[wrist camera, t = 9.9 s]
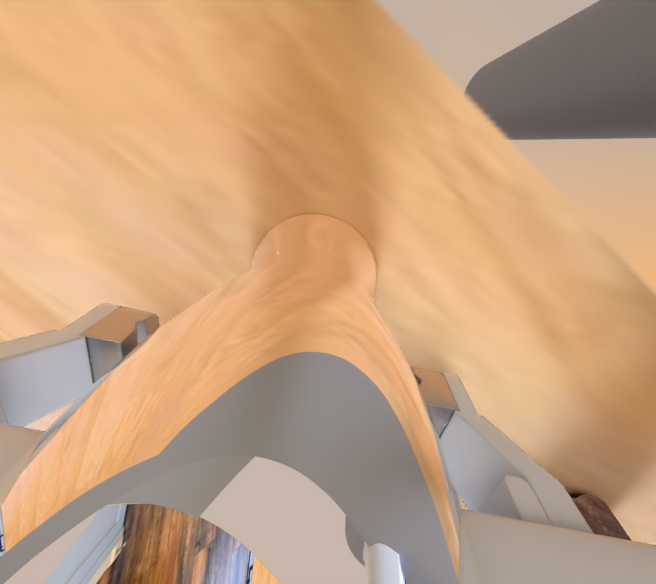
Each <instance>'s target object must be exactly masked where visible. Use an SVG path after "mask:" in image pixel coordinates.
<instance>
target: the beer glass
mask: <svg viewBox="0 0 656 584" xmlns="http://www.w3.org/2000/svg"><path fill="white" fill-rule="evenodd" d="M376 281H377V270H376V263H375V259H374V256H373V253H372V251H371V249H370V247H369V245H368V244H367V242H366V241H365V239H364V238H363V237H362V236H361V235H360V234H359V233H358V232H357V231H356V230H355V229H354V228H352V227H351V226H350V225H348V224H346V223H345V222H343V221H341V220H338V219H336V218H333V217H330V216H326V215H319V214H306V215H299V216H295V217H292V218H289V219H286V220H284V221H282V222H281V223H279V224H278V225H276V226H275V227H274V228H272V229H271V230H270V231H269V232H268V233H267V234H266V235H265V237H264V238H263V239H262V241H261V242H260V244H259V245H258V247H257V249H256V252H255V254H254V257H253V261H252V264H251V268H250V269H249V270H248V271H246V272H244V273H243V274H241V275H239V276H237V277H236V278H234V279H232V280H230V281H229V282H227V283H225V284H224V285H222V286H220V287H219V288H217V289H216V290H214V291H212V292H211V293H209V294H207V295H206V296H204V297H202V298H201V299H199V300H197V301H196V302H194V303H193V304H192V305H190V306H189V307H187V308H186V309H184V310H183V311H182V312H180V313H179V314H177V315H176V316H175V317H173V318H172V319H170V320H169V321H168V322H166V323H165V324H163V325H162V326H161V327H159V328H158V329H156V330H155V331H154V332H152V333H151V334H150V335H148V336H147V337H146V338H145V339H143V340H142V341H141V342H140V343H139V344H138V345H137V346H136V347H134V348H133V349H132V350H131V351H130V352H129V353H128V354H127V355H126V356H124V357H123V358H122V359H121V360H120V361H119V362H118V363H117V364H115V365H114V366H113V367H112V368H111V369H110V370H109V371H108V372H106V373H105V374H104V375H103V376H102V377H101V378H100V379H99V380H97V381H96V382H95V383H94V384H93V385H92V386H91V387H90V388H88V389H87V390H86V391H85V392H84V393H83V394H82V395H81V396H80V397H79V398H78V399H77V400H76V401H75V402H74V403H73V404H72V405H71V406H70V407H69V408H68V409H67V410H66V411H65V412H64V413H63V414H62V415H61V416H60V417H59V418H58V419H57V420H56V421H55V422H54V423H53V424H52V425H51V426H50V427H49V428H48V429H47V430H46V431H45V432H44V433H43V434H42V435H41V436H40V437H39V438H38V439H37V440H36V441H35V442H34V443H33V444H32V445H31V446H30V447H29V448H28V449H27V450H26V451H25V452H24V453H23V454H22V455H21V456H20V457H19V458H18V459H17V460H16V461H15V462H14V463H13V464H12V465H11V466H10V467H9V468H8V469H7V470H6V471H5V472H4V473H3V474H2V475H1V476H0V584H482V581H481V577H480V574H479V570H478V566H477V563H476V559H475V556H474V552H473V548H472V545H471V541H470V538H469V534H468V530H467V527H466V523H465V520H464V516H463V513H462V509H461V505H460V502H459V498H458V495H457V491H456V487H455V484H454V480H453V477H452V474H451V471H450V468H449V465H448V462H447V459H446V456H445V453H444V450H443V448H442V445H441V442H440V439H439V436H438V433H437V430H436V427H435V425H434V422H433V419H432V416H431V413H430V410H429V407H428V405H427V402H426V400H425V398H424V395H423V393H422V391H421V389H420V387H419V385H418V383H417V381H416V379H415V376H414V374H413V372H412V370H411V368H410V366H409V364H408V362H407V360H406V357H405V355H404V353H403V351H402V350H401V348H400V346H399V344H398V343H397V341H396V339H395V337H394V335H393V334H392V332H391V330H390V328H389V327H388V325H387V323H386V321H385V320H384V318H383V316H382V315H381V313H380V311H379V310H378V308H377V306H376V305H375V303H374V301H373V297H374V293H375V288H376Z"/></svg>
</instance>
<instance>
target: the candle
mask: <svg viewBox="0 0 656 584" xmlns="http://www.w3.org/2000/svg"><path fill="white" fill-rule="evenodd" d="M572 500H573V502H574V503H575V505H576V506H577V508H578V510H579V511H580V513H581V514H582V516H583V517H584V519H585V521H586V522H587V524H588V525H589V527H590V528H591V530H592V532H593V533H594V534H598V535H604V536H609V537H614V538H620V539H625V540H630V541H632V540H631V539H630V538H629V536H628V535H627V533H626V532H625V530H624V529H623V528H622V526H621V525H620V523H619V522H618V520H617V519H616V518H615V516H614V515H613V513H612V512H611V510H610V509H609V508H608V506H607V505H606V504H605V503H604V502H603V501H601V500H599V499H597V498H595V497H593V496H591V495H588V494H583V495H580V496H579V497H577V498H572Z"/></svg>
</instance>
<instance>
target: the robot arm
mask: <svg viewBox="0 0 656 584" xmlns="http://www.w3.org/2000/svg"><path fill="white" fill-rule="evenodd" d="M158 327H159V317H158V316H157V315H156V314H153V313H149V312H145V311H140V310H136V309H131V308H127V307H122V306H118V305H113V304H108V303H106V304H101V305H99V306H98V307H96V308H94V309H93V310H91V311H90V312H88V313H87V314H85V315H84V316H82V317H81V318H79V319H77V320H76V321H74V322H73V323H71V324H70V325H68V326H67V327H65V328H64V329H62V330H60V331H57V330H52V331H47V332H43V333H39V334H35V335H31V336H27V337H23V338H19V339H15V340H11V341H7V342H3V343H0V476H1V475H2V474H3V473H4V472H5V471H6V470H7V469H8V468H9V467H10V466H11V465H12V464H13V463H14V462H15V461H16V460H17V459H18V458H19V457H20V456H21V455H22V454H23V453H24V452H25V451H26V450H27V449H28V448H29V447H30V446H31V445H32V444H33V443H34V442H35V441H36V440H37V439H38V438H39V437H40V436H41V435H42V434H43V433H44V432H45V431H40V430H35V429H29V428H24V426H26V425H28V424H30V423H32V422H34V421H36V420H38V419H40V418H42V417H44V416H46V415H48V414H50V413H52V412H54V411H56V410H58V409H60V408H62V407H64V406H66V405H68V404H69V403H71V402H73V401H75V400H77V399H78V398H79V397H80V396H81V395H82V394H83V393H84V392H85V391H86V390H87V389H88V388H90V387H91V386H92V385H93V384H94V383H95V382H96V381H97V380H99V379H100V378H101V377H102V376H103V375H104V374H105V373H106V372H108V371H109V370H110V369H111V368H112V367H113V366H114V365H115V364H117V363H118V362H119V361H120V360H121V359H122V358H123V357H124V356H126V355H127V354H128V353H129V352H130V351H131V350H132V349H133V348H134V347H136V346H137V345H138V344H139V343H140V342H141V341H142V340H143V339H145V338H146V337H147V336H148V335H150V334H151V333H152V332H154V331H155V330H156V329H157V328H158ZM410 368H411V370H412V372H413V374H414V376H415V379H416V381H417V383H418V385H419V387H420V389H421V391H422V393H423V395H424V398H425V400H426V402H427V405H428V407H429V410H430V413H431V416H432V419H433V422H434V425H435V427H436V430H437V433H438V436H439V439H440V442H441V445H442V448H443V450H444V453H445V456H446V459H447V462H448V465H449V468H450V471H451V474H452V477H453V480H454V484H455V487H456V491H457V493H458V495H459V496H460V497H461V499H462V500H463V502H464V503H465V504H466V506H467V507H468V509H469V510H470V511H469V510H464V509H462V513H463V516H464V520H465V523H466V527H467V530H468V534H469V538H470V541H471V545H472V548H473V552H474V556H475V559H476V563H477V566H478V570H479V574H480V577H481V581H482V584H656V545H652V544H647V543H641V542H636V541H630V540H625V539H620V538H614V537H609V536H604V535H598V534H594V533H593V532H592V530H591V528H590V527H589V525H588V524H587V522H586V521H585V519H584V517H583V516H582V514H581V513H580V511H579V510H578V508H577V506H576V505H575V503H574V502H573V500H572V498H571V497H570V495H569V494H568V492H567V491H566V489H565V487H564V486H563V484H562V483H560V482H559V481H558V480H557V479H556V478H555V477H553V476H552V475H551V474H550V473H549V472H548V471H546V470H545V469H544V468H543V467H542V466H541V465H539V464H538V463H537V462H536V461H535V460H534V459H532V458H531V457H530V456H529V455H528V454H527V453H525V452H524V451H523V450H522V449H521V448H520V447H518V446H517V445H516V444H515V443H514V442H513V441H511V440H510V439H509V438H508V437H507V436H506V435H504V434H503V433H502V432H501V431H500V430H499V429H497V428H496V427H495V426H494V425H493V424H492V423H490V422H489V421H488V420H487V419H486V418H485V417H483V416H480V415H478V414H477V412H476V410H475V408H474V406H473V404H472V402H471V400H470V398H469V396H468V394H467V392H466V390H465V388H464V386H463V384H462V382H461V379H460V378H459V377H458V376H457V375H454V374H448V373H442V372H441V373H439V372H434V371H429V370H424V369H419V368H414V367H410Z"/></svg>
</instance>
